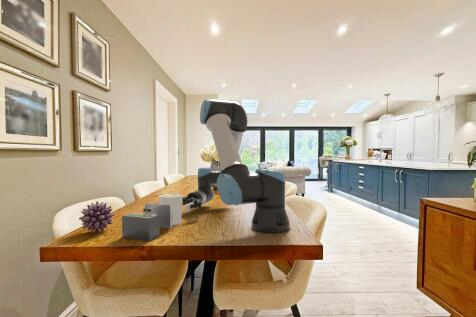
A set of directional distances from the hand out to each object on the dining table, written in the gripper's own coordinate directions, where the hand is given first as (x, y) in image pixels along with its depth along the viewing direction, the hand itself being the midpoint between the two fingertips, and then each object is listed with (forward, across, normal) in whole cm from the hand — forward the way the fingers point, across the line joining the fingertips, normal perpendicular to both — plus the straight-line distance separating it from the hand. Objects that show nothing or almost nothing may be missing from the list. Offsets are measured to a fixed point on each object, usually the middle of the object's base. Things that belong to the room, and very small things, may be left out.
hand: (171, 207), depth 106 cm
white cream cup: (+2, -1, -7) cm, 7 cm away
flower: (+21, +19, -7) cm, 29 cm away
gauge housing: (+20, -1, -6) cm, 21 cm away
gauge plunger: (+13, -1, -5) cm, 14 cm away
